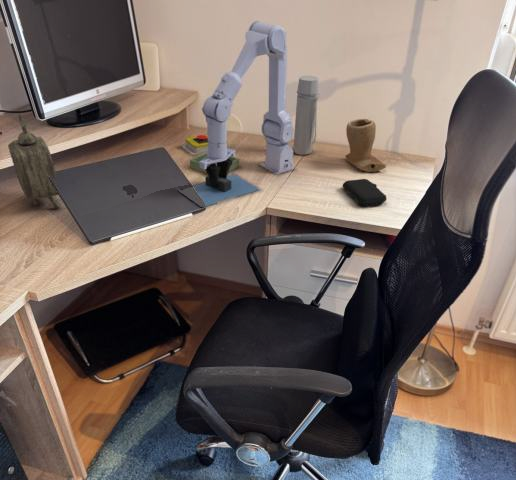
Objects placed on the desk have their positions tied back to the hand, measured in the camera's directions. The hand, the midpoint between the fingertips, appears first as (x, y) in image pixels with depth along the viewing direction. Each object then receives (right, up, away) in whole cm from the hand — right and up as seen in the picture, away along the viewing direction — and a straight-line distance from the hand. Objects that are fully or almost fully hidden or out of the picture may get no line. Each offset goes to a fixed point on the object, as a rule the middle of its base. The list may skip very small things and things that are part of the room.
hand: (218, 184), depth 159 cm
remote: (0, -1, +1) cm, 1 cm away
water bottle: (+30, +19, +25) cm, 44 cm away
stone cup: (+49, +12, +18) cm, 54 cm away
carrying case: (+47, -4, 0) cm, 47 cm away
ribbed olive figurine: (-51, -9, -10) cm, 53 cm away
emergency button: (-7, +21, +26) cm, 34 cm away
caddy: (-2, +10, +13) cm, 16 cm away
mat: (0, -2, 0) cm, 2 cm away
